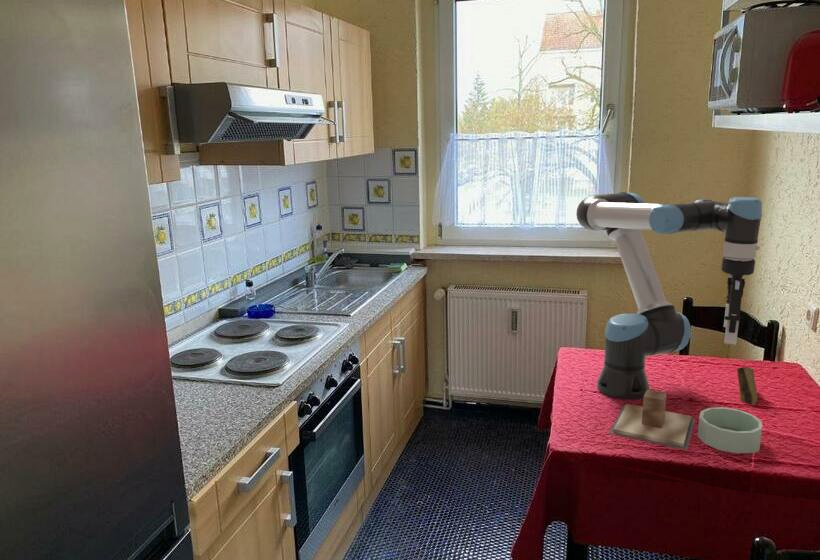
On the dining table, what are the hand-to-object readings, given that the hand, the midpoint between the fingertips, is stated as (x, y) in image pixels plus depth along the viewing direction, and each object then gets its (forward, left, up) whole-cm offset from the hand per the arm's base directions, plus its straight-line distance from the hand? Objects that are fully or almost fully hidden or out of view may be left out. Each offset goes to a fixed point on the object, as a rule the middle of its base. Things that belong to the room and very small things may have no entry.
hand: (729, 335), depth 164 cm
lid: (-16, -15, -23) cm, 32 cm away
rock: (+6, +18, -24) cm, 31 cm away
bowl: (+2, -14, -24) cm, 28 cm away
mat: (-16, -15, -24) cm, 32 cm away
